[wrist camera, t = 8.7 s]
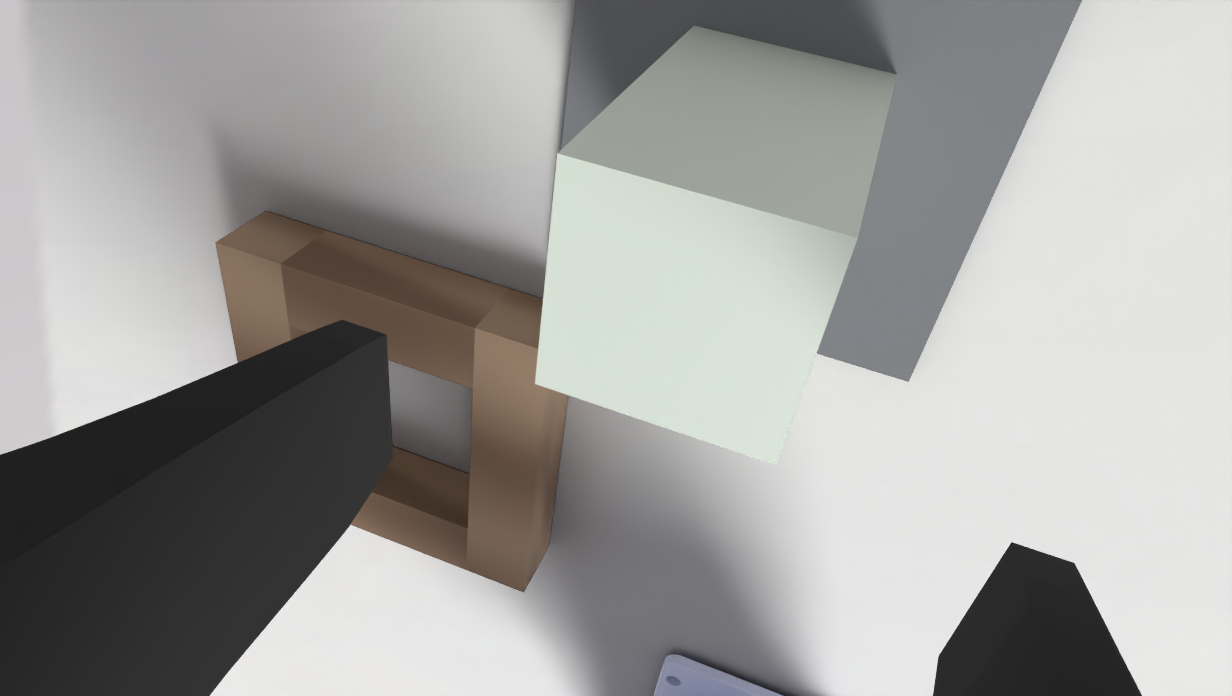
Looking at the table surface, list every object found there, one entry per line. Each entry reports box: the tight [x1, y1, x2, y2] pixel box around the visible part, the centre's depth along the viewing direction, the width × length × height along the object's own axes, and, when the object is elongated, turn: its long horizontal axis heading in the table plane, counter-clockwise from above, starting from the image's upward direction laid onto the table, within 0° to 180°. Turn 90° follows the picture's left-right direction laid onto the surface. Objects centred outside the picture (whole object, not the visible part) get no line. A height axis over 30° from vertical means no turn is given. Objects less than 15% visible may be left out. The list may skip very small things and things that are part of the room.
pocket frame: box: [216, 211, 568, 592], centre depth 25 cm, size 10×10×2 cm
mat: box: [561, 0, 1082, 382], centre depth 17 cm, size 9×9×1 cm
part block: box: [535, 26, 897, 466], centre depth 14 cm, size 4×4×7 cm
